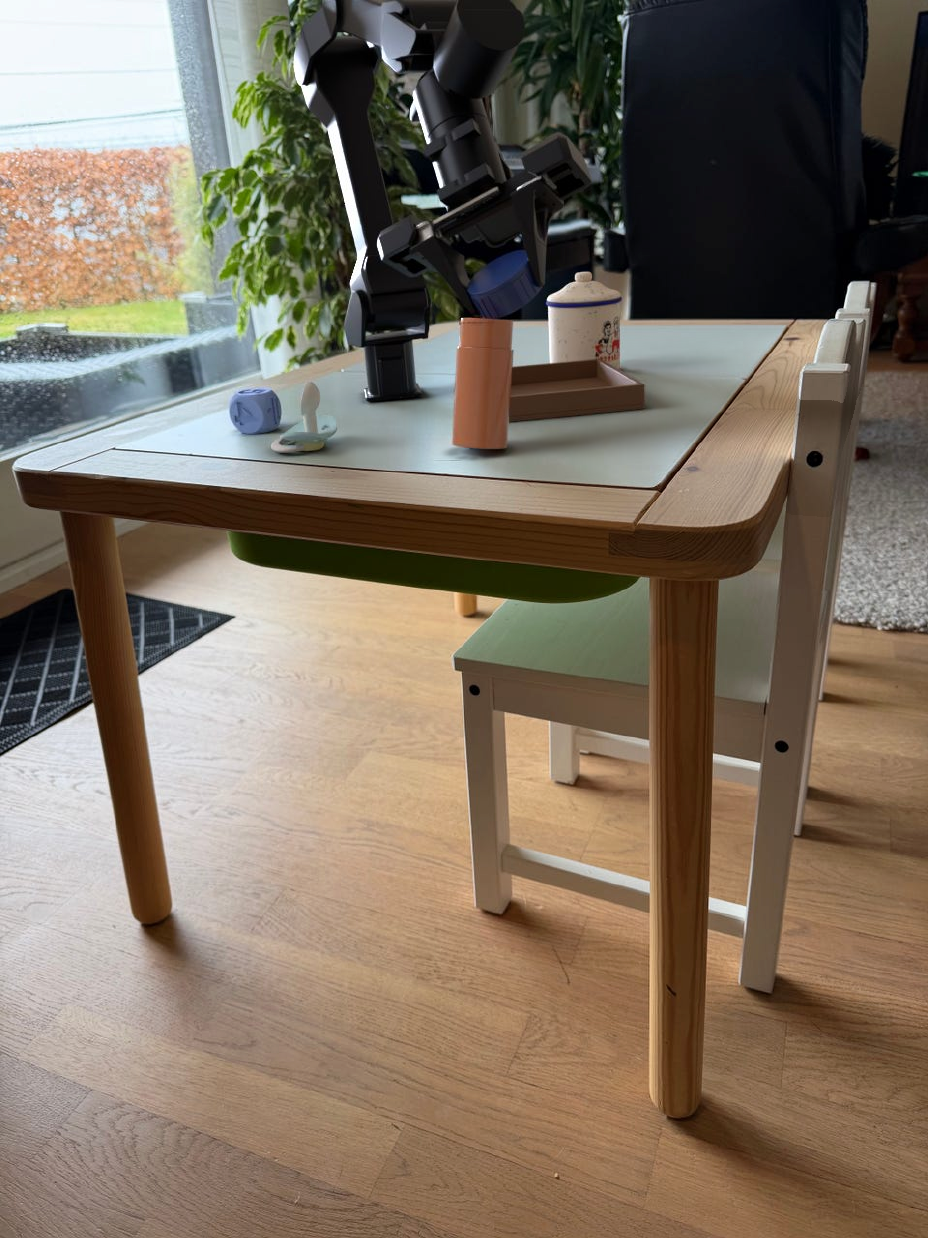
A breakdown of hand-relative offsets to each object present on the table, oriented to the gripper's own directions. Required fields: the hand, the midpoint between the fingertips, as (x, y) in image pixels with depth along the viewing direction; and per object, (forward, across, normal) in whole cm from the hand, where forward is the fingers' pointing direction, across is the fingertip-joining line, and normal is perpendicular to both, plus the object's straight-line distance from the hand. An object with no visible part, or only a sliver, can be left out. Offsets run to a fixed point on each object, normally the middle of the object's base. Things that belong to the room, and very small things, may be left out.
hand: (508, 300), depth 82 cm
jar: (+10, +7, -2) cm, 13 cm away
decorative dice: (-1, +32, -5) cm, 32 cm away
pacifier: (+4, +24, 0) cm, 24 cm away
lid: (-2, 0, 0) cm, 2 cm away
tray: (+3, +5, -22) cm, 23 cm away
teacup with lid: (-4, +5, -39) cm, 39 cm away
